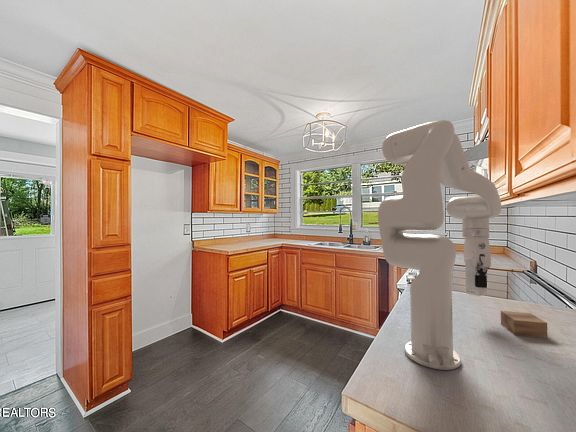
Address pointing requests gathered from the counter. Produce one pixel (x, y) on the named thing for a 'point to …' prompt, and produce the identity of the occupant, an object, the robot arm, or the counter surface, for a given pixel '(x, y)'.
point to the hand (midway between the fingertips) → (475, 284)
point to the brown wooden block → (524, 324)
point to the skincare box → (472, 280)
